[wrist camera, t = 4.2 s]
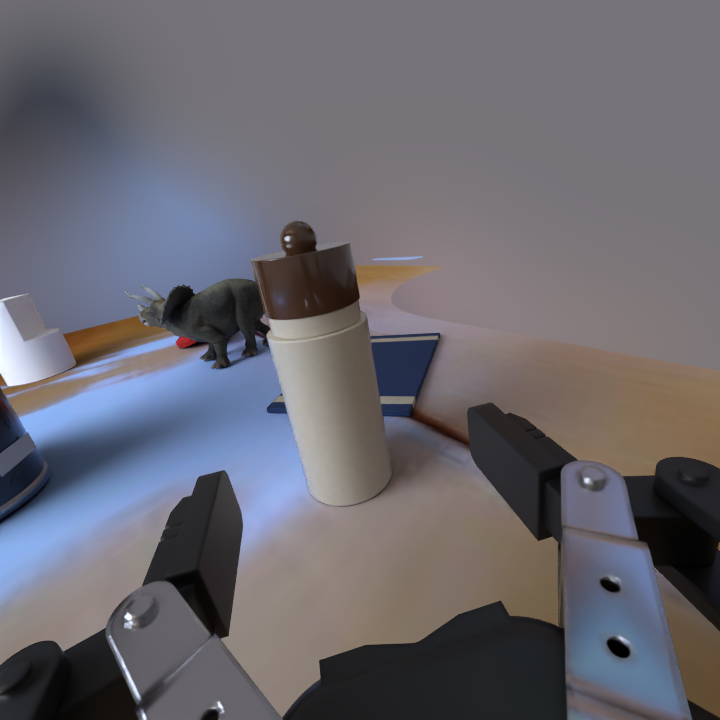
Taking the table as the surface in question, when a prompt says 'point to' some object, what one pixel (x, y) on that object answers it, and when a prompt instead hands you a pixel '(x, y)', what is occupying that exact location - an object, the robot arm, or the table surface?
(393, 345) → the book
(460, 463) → the table surface
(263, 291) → the pepper mill
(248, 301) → the toy dinosaur
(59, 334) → the cylinder with rectangular tab
